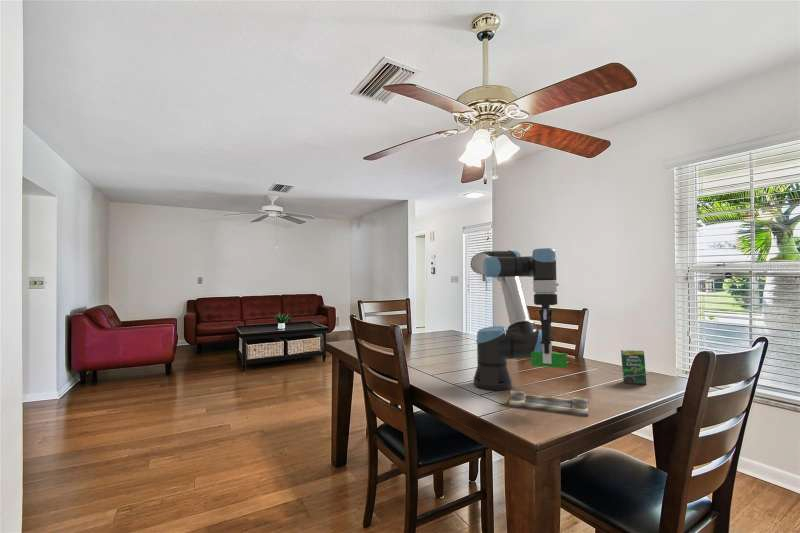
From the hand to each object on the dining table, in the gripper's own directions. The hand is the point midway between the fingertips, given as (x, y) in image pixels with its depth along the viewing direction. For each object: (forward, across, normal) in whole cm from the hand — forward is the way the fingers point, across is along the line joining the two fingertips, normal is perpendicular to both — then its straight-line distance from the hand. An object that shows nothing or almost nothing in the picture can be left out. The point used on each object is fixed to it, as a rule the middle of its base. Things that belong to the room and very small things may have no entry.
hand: (547, 361), depth 125 cm
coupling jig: (+15, 0, 0) cm, 15 cm away
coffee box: (+15, +40, -30) cm, 52 cm away
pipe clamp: (+2, 0, -1) cm, 2 cm away
